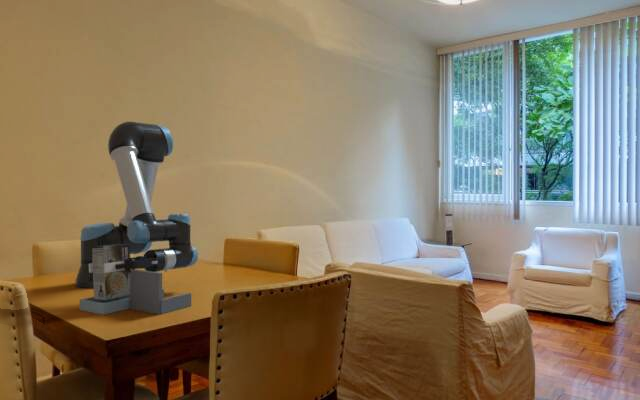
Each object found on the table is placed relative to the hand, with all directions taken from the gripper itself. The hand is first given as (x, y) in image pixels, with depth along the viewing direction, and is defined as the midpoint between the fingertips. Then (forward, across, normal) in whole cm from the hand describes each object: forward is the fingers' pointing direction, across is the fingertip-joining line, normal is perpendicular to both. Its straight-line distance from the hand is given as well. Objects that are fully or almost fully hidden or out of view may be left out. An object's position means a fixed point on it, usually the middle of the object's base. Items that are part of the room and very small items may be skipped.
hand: (97, 268), depth 140 cm
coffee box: (-5, 0, -10) cm, 11 cm away
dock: (-14, -11, -14) cm, 23 cm away
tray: (-5, +1, -13) cm, 14 cm away
